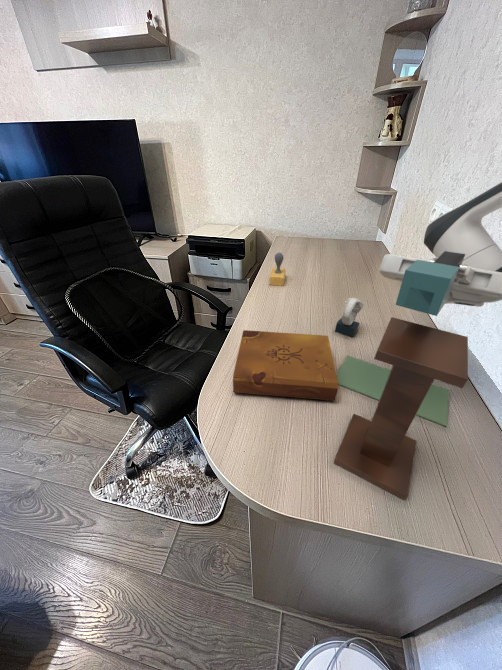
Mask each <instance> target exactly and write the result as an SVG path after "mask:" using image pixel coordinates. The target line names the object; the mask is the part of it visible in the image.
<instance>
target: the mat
mask: <svg viewBox="0 0 502 670" xmlns="http://www.w3.org/2000/svg"><path fill="white" fill-rule="evenodd" d="M390 371H391V369H388V368H386V367H383V366H381V365H377V364H374V363H371V362H368V361H365V360H362V359H359V358H356V357H354V356H350V355H347V356H346V358H345V359H344V361H343V363H342V365H341V366H340V368H339V370H338V372H337V373H336V374H337V379H338V386H339V387H343V388H345V389H347V390H350V391H353V392H355V393H358V394H360V395H362V396H366V397H367V398H371V399H373V400H375V401H378V402H379V400H380V397H381V394H382V392H383V389H384V387H385V384H386V381H387V379H388V376H389V374H390ZM449 399H450V389H447V388H445V387H442V386H439V385H436V384H433V383H432V384H431V386H430V388H429V390H428V392H427V394H426V396H425V398H424V400H423V402H422V404H421V406H420V408H419V410H418V411H417V413H416V415H415V417H419V418H421V419H423V420H425V421H426V420H427V421H429V422H431V423H433V424H437V425H439V426H442V427H444V428H447V427H448V415H449V402H450V401H449Z"/></svg>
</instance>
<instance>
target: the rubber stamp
mask: <svg viewBox="0 0 502 670" xmlns="http://www.w3.org/2000/svg"><path fill="white" fill-rule="evenodd" d="M283 261H284V255H283V253H282V252H277V253H276V254H275V255H274V262H275V265H276V267H272V268H271V271H270V275H269V285H270V286H279V287H283V286H285V279H286V270H287V269H286V268H281V266H282V264H283Z"/></svg>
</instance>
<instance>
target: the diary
mask: <svg viewBox="0 0 502 670" xmlns="http://www.w3.org/2000/svg"><path fill="white" fill-rule="evenodd" d="M334 361H335V360H334V357H333V351H332V347H331V342H330V337H329V335H326V334H325V335H324V334H309V333H308V334H307V333H295V332H294V333H292V332H279V331H278V332H277V331H263V330H262V331H261V330H246V329H243V330H242V334H241V339H240V344H239V347H238V352H237V357H236V360H235V366H234V370H233V375H232V376H233V377H232V392H233V393H237V394H250V395H262V396H274V397H275V396H276V397H284V398H285V397H287V398H297V399H298V398H299V399H310V400H311V399H312V400H321V401H332V402H333V401H336V399H337V395H338V391H339V385H338V379H337V374H338V373H337V370H336V366H335V362H334Z"/></svg>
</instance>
